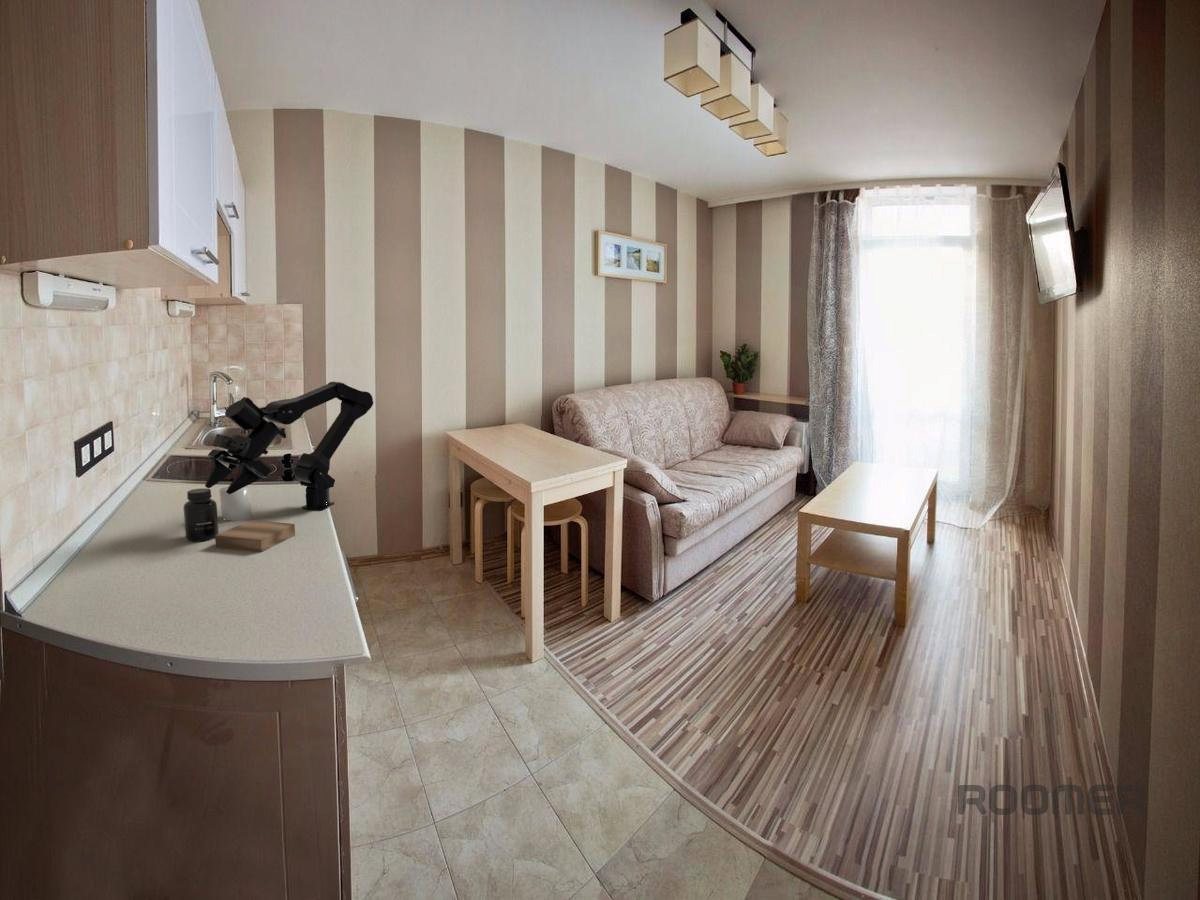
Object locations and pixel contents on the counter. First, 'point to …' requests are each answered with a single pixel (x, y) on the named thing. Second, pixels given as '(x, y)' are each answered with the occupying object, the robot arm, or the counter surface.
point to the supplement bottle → (200, 515)
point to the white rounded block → (235, 504)
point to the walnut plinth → (255, 535)
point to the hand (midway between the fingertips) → (217, 490)
